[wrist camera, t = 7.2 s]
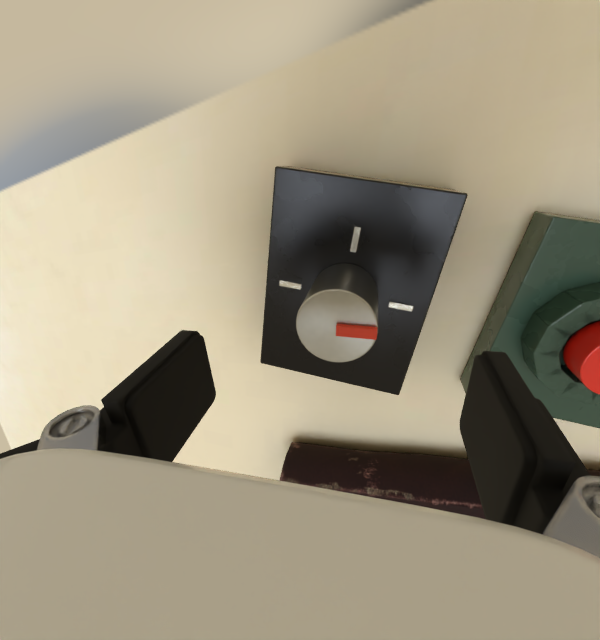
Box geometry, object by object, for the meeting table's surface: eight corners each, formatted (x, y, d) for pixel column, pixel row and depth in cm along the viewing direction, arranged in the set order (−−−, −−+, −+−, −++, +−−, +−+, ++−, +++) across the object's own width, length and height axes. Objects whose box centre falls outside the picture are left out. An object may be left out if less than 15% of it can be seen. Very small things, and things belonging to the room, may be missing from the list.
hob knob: (311, 321, 20) (294, 361, 16) (312, 261, 19) (293, 289, 14) (374, 327, 20) (374, 370, 15) (381, 264, 18) (382, 294, 14)
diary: (291, 433, 29) (276, 480, 25) (614, 460, 23) (669, 528, 19) (310, 552, 37) (301, 604, 33) (557, 595, 31) (586, 666, 27)
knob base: (288, 166, 20) (274, 166, 17) (455, 189, 18) (469, 194, 15) (272, 343, 26) (259, 364, 23) (396, 370, 24) (399, 397, 21)
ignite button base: (534, 210, 18) (573, 221, 14) (717, 237, 17) (809, 256, 13) (459, 379, 23) (474, 416, 20) (592, 408, 22) (633, 454, 19)
